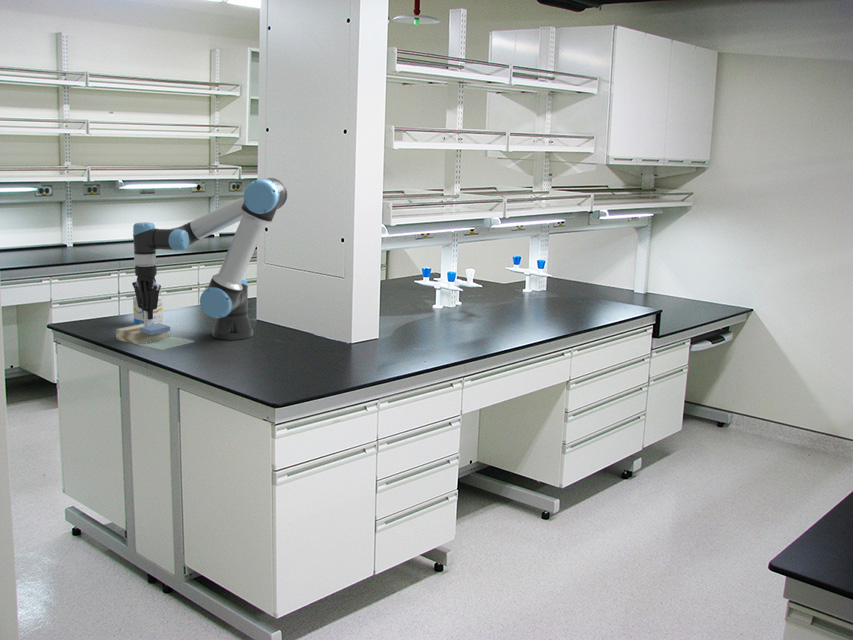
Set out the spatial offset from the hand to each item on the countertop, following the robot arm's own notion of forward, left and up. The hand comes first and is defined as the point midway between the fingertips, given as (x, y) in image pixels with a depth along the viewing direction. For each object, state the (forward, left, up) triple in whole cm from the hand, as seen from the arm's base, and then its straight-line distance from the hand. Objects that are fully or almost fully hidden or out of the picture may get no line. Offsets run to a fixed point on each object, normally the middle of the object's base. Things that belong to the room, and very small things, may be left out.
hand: (148, 327), depth 302 cm
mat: (-10, 0, -5) cm, 11 cm away
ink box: (+20, -18, -5) cm, 28 cm away
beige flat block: (+3, 0, -5) cm, 6 cm away
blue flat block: (-4, 0, -1) cm, 4 cm away
